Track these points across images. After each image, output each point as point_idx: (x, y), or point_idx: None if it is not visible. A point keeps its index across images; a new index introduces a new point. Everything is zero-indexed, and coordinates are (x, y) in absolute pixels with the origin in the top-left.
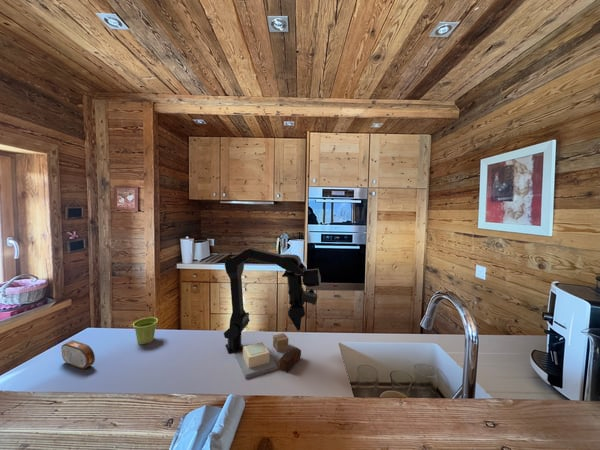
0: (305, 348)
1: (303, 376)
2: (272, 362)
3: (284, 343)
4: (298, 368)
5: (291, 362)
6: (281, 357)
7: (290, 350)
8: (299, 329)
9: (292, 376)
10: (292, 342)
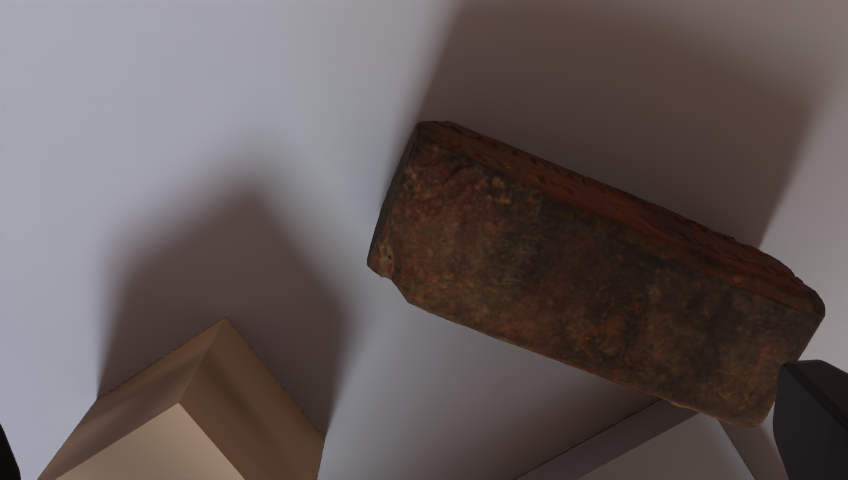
0: (139, 62)
1: (827, 34)
2: (646, 469)
3: (240, 414)
4: (658, 120)
5: (713, 244)
6: (740, 415)
7: (527, 313)
8: (841, 386)
9: (825, 179)
10: (26, 280)
